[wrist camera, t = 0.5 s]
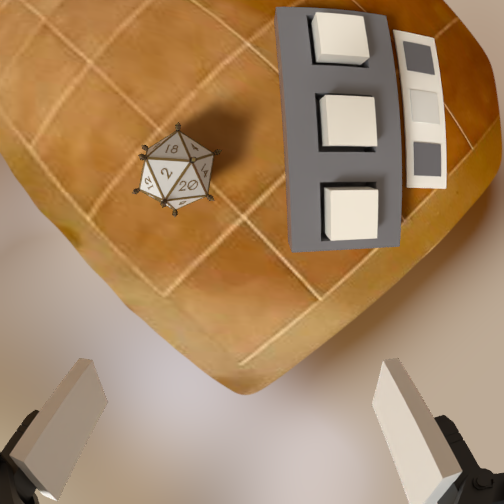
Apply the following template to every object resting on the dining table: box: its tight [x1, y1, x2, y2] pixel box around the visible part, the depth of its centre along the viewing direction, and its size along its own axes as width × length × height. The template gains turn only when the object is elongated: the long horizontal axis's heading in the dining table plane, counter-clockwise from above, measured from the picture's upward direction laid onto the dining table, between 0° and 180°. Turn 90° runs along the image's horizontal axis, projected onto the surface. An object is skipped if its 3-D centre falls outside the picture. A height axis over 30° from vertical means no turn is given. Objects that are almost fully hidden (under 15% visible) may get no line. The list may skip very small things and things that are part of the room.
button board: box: [274, 7, 402, 252], centre depth 30 cm, size 26×12×4 cm, turn 4°
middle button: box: [319, 95, 377, 147], centre depth 27 cm, size 5×5×3 cm
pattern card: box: [393, 30, 447, 189], centre depth 30 cm, size 20×6×1 cm, turn 4°
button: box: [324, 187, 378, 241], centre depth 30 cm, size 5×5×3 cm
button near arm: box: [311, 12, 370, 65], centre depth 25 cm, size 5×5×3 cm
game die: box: [132, 122, 222, 217], centre depth 30 cm, size 9×8×10 cm
